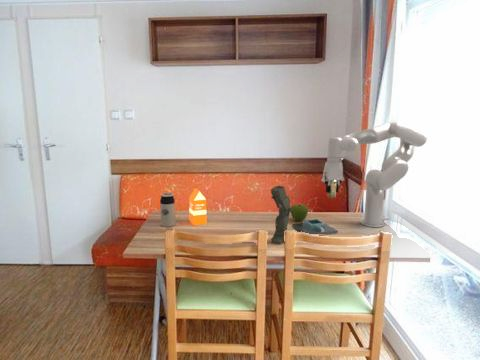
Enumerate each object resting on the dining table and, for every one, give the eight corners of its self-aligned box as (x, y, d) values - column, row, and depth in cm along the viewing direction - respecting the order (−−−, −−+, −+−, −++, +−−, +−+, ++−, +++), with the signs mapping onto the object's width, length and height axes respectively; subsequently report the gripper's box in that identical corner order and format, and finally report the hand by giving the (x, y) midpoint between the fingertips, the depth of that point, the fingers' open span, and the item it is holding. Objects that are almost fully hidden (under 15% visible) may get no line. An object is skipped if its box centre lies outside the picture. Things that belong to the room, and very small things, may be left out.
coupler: (332, 195, 205) (333, 178, 203) (337, 197, 200) (339, 180, 198) (325, 196, 204) (327, 178, 202) (330, 198, 199) (332, 180, 197)
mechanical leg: (284, 232, 191) (278, 180, 180) (296, 235, 186) (290, 182, 175) (270, 245, 181) (262, 191, 170) (282, 249, 177) (275, 194, 166)
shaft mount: (319, 223, 209) (320, 215, 209) (337, 233, 193) (338, 225, 192) (291, 226, 204) (292, 218, 203) (307, 236, 187) (307, 228, 186)
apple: (305, 217, 220) (306, 201, 218) (309, 222, 210) (310, 206, 208) (288, 217, 220) (288, 201, 218) (291, 223, 210) (291, 206, 208)
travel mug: (167, 222, 211) (165, 192, 207) (178, 224, 207) (177, 193, 204) (158, 226, 204) (156, 195, 200) (169, 228, 200) (168, 196, 197)
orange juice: (193, 225, 204) (193, 191, 200) (189, 221, 212) (188, 188, 208) (206, 224, 208) (206, 190, 204) (202, 219, 215) (201, 187, 212)
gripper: (343, 158, 204) (341, 190, 208) (317, 159, 199) (315, 191, 203) (351, 160, 197) (348, 193, 201) (324, 161, 192) (322, 194, 196)
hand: (331, 191), depth 202 cm, fingers closed on coupler, 4 cm apart
